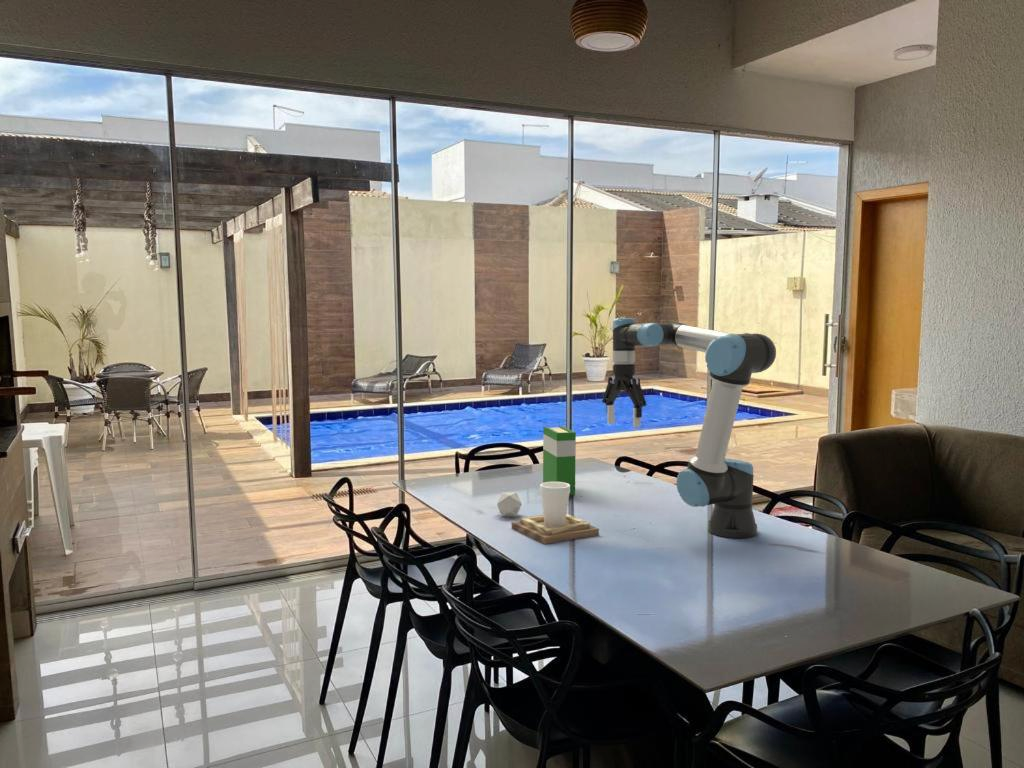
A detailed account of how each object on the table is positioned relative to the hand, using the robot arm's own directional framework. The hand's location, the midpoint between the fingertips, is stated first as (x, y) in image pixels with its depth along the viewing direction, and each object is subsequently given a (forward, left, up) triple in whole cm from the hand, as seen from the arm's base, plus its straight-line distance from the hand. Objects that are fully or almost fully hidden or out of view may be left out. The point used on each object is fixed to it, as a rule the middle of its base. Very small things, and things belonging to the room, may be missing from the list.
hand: (623, 425), depth 274 cm
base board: (-8, +33, -31) cm, 45 cm away
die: (+16, +36, -31) cm, 50 cm away
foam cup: (-8, +33, -29) cm, 44 cm away
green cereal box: (+39, +1, -31) cm, 50 cm away
